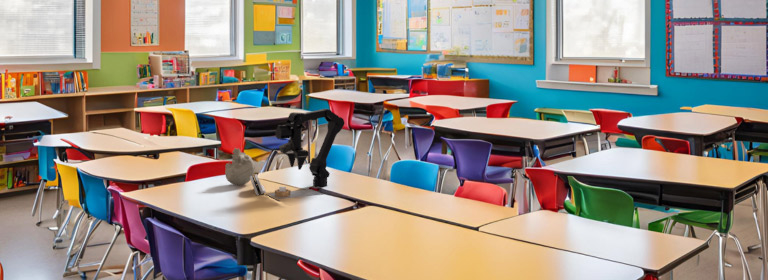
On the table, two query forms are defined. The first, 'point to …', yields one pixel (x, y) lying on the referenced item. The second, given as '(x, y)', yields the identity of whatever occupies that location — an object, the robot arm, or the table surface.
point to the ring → (282, 193)
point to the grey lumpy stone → (239, 168)
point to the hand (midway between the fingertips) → (295, 168)
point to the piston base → (296, 193)
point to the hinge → (257, 185)
